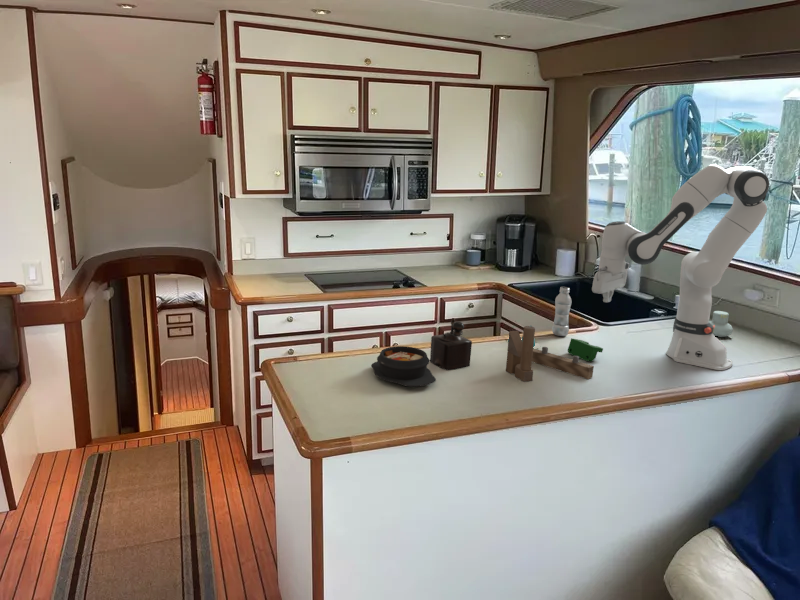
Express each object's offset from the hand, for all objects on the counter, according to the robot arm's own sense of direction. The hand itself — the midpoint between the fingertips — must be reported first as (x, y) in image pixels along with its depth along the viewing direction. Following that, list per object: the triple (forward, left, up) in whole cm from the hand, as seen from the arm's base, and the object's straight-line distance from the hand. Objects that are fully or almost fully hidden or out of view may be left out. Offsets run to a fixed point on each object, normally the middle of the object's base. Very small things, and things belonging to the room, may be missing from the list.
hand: (606, 301), depth 236 cm
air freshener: (-23, -59, -19) cm, 66 cm away
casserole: (+29, +79, -19) cm, 86 cm away
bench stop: (0, +31, -19) cm, 36 cm away
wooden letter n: (+5, +48, -19) cm, 52 cm away
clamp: (0, +12, -20) cm, 23 cm away
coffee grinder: (+25, +58, -19) cm, 66 cm away
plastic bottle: (+20, -4, -19) cm, 28 cm away
